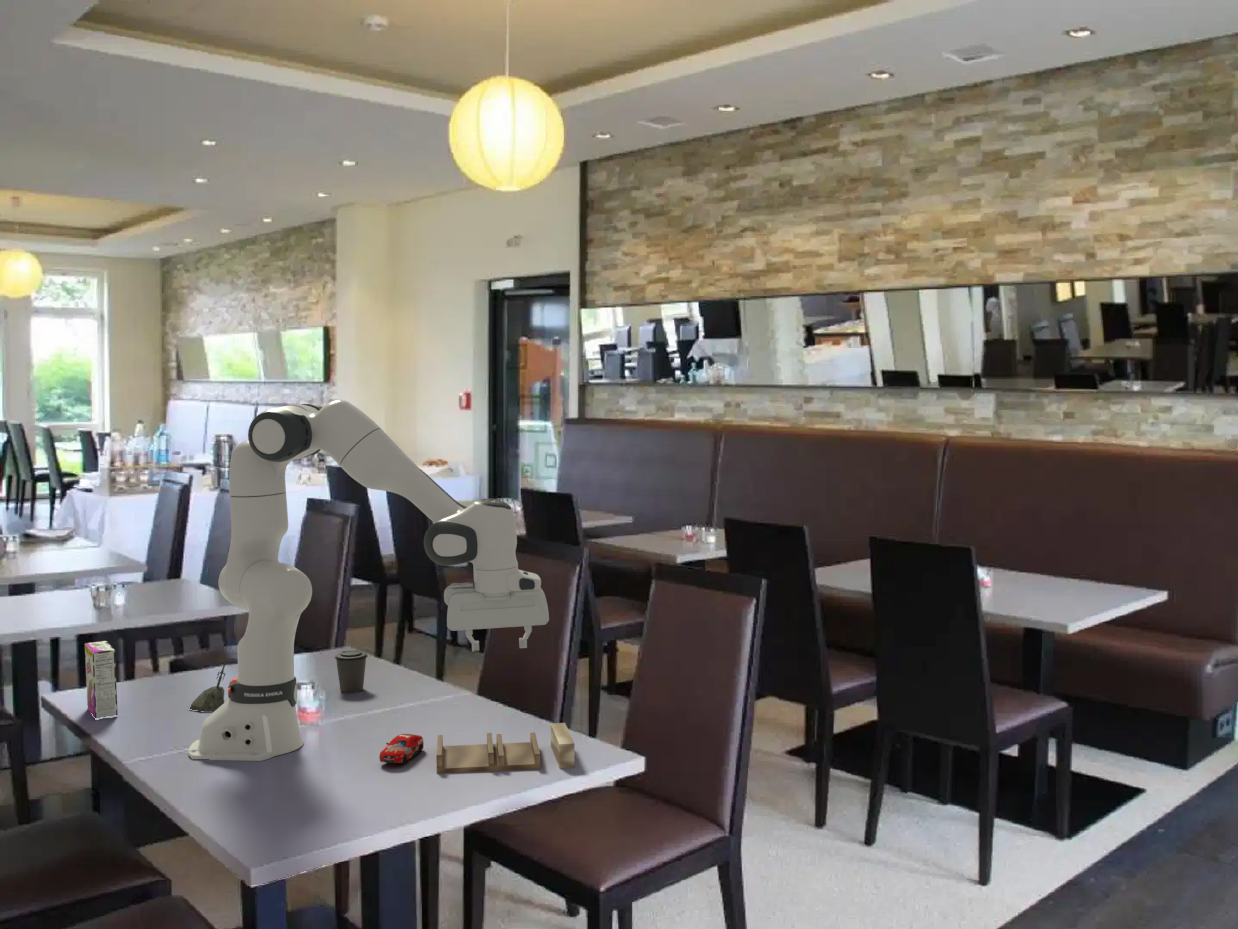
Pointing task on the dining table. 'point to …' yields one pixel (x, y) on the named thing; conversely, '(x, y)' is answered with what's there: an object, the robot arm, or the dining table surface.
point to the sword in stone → (210, 696)
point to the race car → (402, 748)
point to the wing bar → (562, 745)
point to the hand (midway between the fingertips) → (499, 649)
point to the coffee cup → (351, 670)
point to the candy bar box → (101, 679)
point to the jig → (488, 756)
